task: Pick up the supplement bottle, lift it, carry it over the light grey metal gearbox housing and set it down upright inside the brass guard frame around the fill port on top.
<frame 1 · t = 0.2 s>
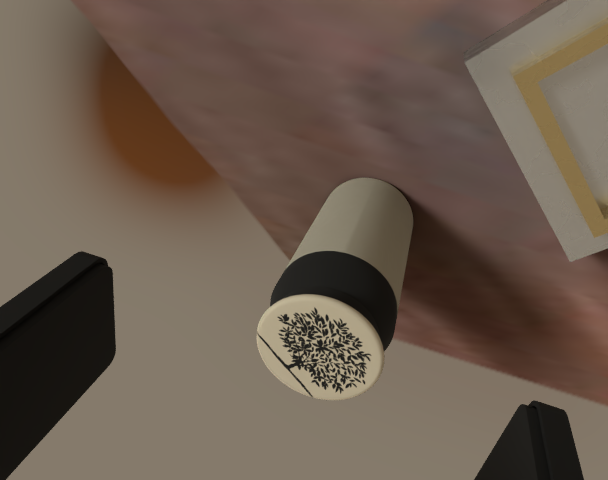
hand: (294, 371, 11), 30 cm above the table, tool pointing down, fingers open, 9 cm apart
travel mug: (368, 217, 42), on the table
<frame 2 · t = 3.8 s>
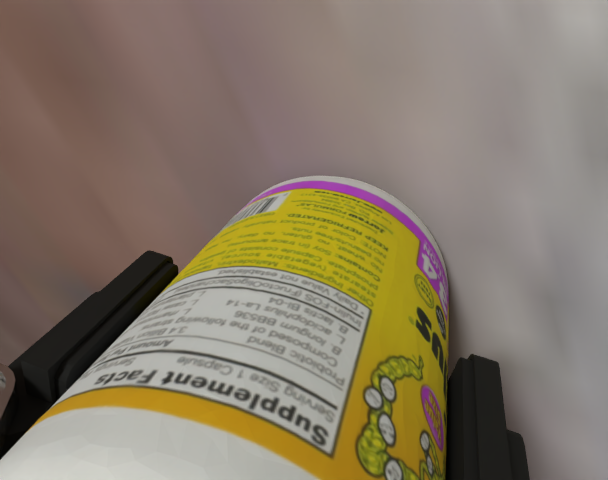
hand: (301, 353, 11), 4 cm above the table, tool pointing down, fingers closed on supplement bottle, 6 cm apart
supplement bottle: (336, 268, 14), on the table, touching gripper
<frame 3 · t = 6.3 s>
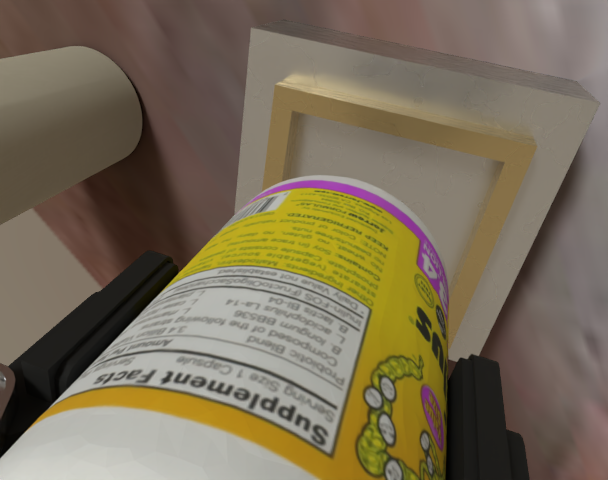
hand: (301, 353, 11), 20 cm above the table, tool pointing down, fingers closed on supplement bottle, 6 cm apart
travel mug: (96, 105, 34), on the table
gearbox housing: (386, 182, 30), on the table
supplement bottle: (336, 267, 14), point 16 cm above the table, touching gripper
when the fingers open (10 cm above the table, at t = 9.3 s): supplement bottle drops 1 cm, resting on gearbox housing.
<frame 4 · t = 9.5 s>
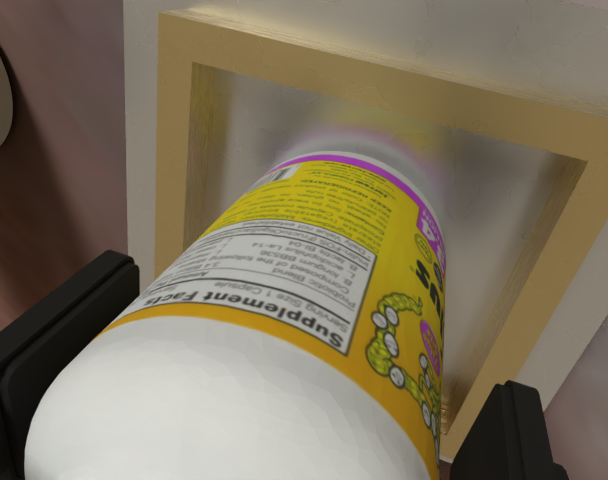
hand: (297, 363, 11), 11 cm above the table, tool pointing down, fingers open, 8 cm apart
gearbox housing: (369, 191, 20), on the table
supplement bottle: (342, 239, 16), point 5 cm above the table, touching gearbox housing
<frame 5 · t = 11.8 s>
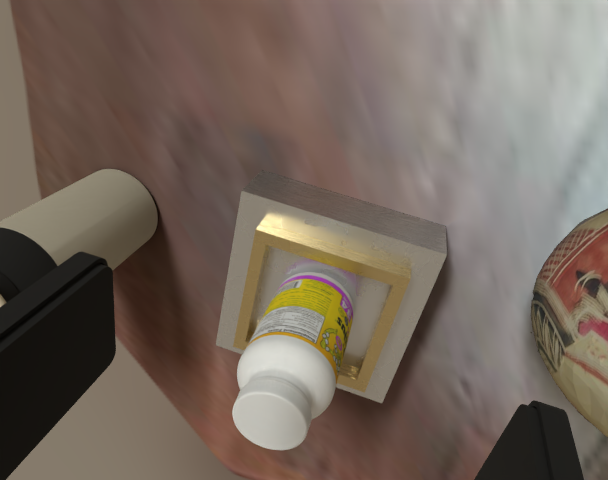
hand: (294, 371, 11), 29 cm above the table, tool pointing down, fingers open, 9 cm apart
travel mug: (123, 206, 46), on the table
gearbox housing: (328, 274, 44), on the table
supplement bottle: (316, 301, 39), point 5 cm above the table, touching gearbox housing
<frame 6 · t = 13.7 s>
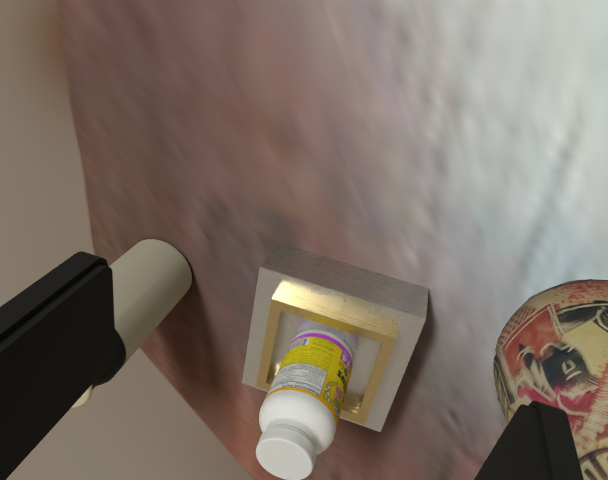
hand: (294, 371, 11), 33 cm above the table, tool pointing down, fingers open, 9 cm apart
travel mug: (163, 267, 56), on the table
gearbox housing: (334, 324, 52), on the table
supplement bottle: (322, 351, 48), point 5 cm above the table, touching gearbox housing
ceramic jug: (568, 320, 45), on the table
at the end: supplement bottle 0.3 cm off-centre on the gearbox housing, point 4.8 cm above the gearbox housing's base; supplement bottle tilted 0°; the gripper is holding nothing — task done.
